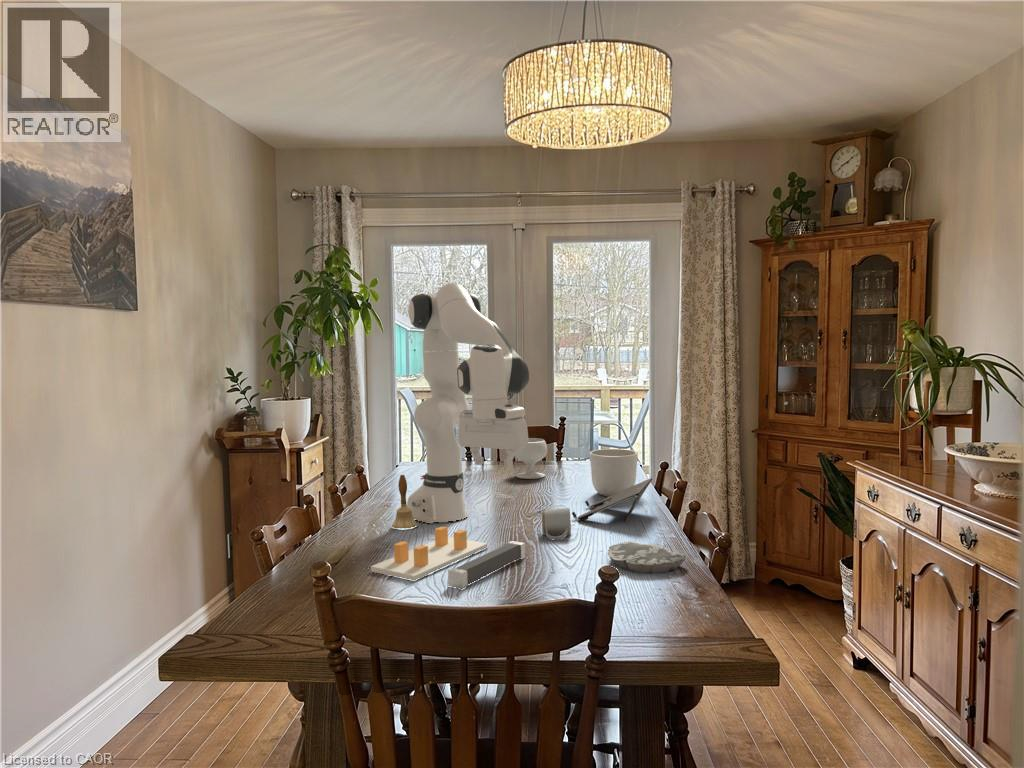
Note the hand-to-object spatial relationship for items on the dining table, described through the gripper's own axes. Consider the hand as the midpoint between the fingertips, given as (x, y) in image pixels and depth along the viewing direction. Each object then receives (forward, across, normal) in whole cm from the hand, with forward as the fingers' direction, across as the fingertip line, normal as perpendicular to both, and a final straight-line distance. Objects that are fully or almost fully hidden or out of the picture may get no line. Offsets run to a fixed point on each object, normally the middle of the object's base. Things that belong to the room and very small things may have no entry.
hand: (493, 465), depth 176 cm
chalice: (+25, -62, +94) cm, 115 cm away
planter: (+26, -18, +85) cm, 91 cm away
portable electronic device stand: (+27, -3, +59) cm, 65 cm away
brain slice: (+27, +28, +23) cm, 45 cm away
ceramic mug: (+26, -4, +31) cm, 41 cm away
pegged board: (+25, -18, -6) cm, 31 cm away
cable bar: (+26, 0, -4) cm, 26 cm away
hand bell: (+24, -48, +12) cm, 55 cm away
